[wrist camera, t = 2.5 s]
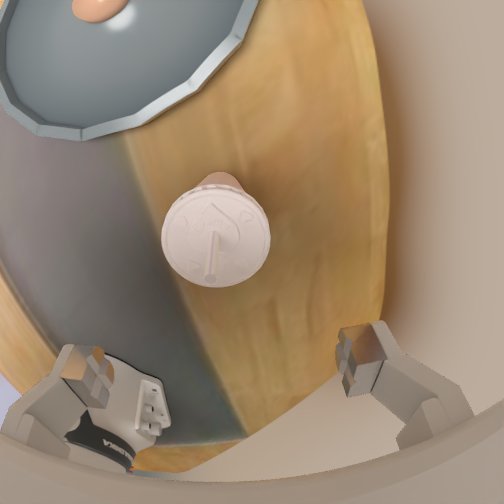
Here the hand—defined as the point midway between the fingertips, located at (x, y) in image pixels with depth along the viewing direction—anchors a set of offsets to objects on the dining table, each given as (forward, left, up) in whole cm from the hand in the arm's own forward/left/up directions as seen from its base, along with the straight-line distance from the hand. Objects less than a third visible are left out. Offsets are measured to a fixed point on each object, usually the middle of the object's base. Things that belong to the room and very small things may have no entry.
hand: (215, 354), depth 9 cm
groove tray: (+20, +8, -18) cm, 28 cm away
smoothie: (0, 0, -18) cm, 18 cm away
